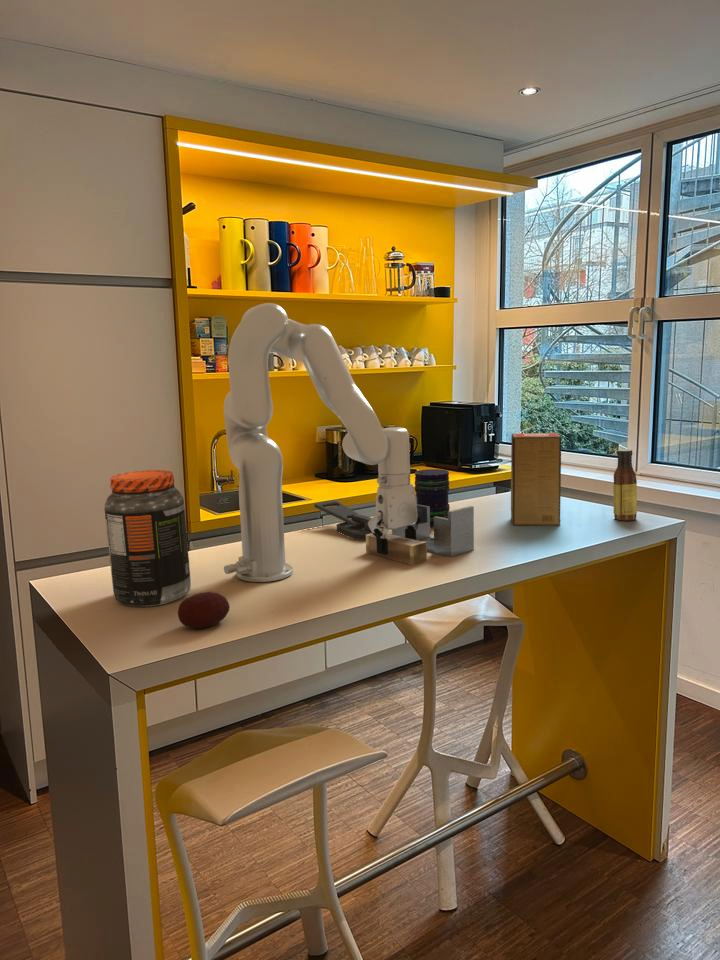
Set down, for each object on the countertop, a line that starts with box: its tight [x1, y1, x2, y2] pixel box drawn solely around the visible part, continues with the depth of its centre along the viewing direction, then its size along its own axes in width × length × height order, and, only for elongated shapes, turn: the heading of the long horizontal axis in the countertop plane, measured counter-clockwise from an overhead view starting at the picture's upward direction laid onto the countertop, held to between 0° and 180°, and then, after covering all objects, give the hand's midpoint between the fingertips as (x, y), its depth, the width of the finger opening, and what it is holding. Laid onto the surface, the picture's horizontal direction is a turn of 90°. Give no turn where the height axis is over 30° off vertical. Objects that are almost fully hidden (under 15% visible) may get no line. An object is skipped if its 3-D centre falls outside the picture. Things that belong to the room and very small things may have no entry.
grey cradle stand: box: [391, 496, 475, 558], centre depth 186 cm, size 8×20×11 cm, turn 42°
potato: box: [177, 591, 231, 629], centre depth 136 cm, size 7×10×6 cm
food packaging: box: [510, 432, 562, 527], centre depth 207 cm, size 13×9×25 cm
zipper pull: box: [313, 500, 383, 542], centre depth 205 cm, size 9×7×25 cm
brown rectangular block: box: [365, 533, 428, 566], centre depth 178 cm, size 5×16×5 cm, turn 42°
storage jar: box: [414, 468, 451, 528], centre depth 210 cm, size 10×10×15 cm
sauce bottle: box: [612, 448, 638, 522], centre depth 208 cm, size 6×6×20 cm
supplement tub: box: [104, 469, 192, 607], centre depth 152 cm, size 16×16×26 cm
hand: (396, 549), depth 178 cm, fingers open, 9 cm apart
